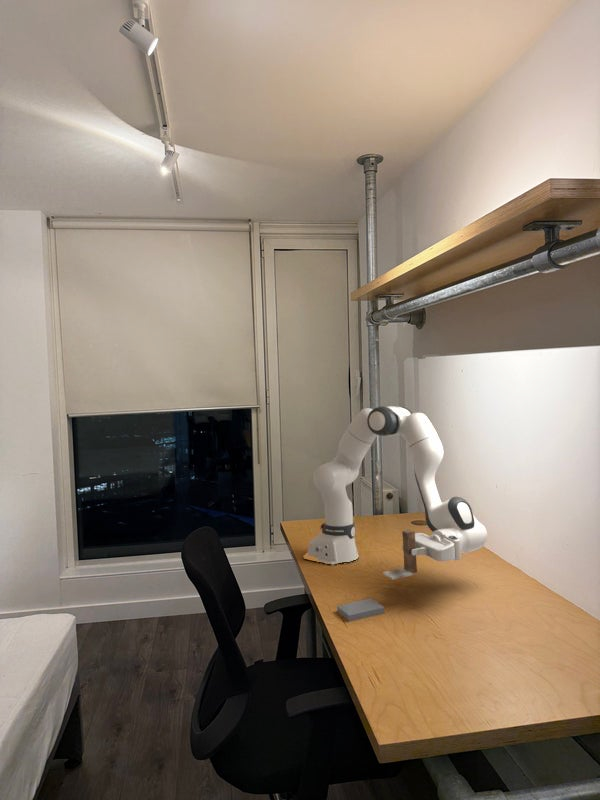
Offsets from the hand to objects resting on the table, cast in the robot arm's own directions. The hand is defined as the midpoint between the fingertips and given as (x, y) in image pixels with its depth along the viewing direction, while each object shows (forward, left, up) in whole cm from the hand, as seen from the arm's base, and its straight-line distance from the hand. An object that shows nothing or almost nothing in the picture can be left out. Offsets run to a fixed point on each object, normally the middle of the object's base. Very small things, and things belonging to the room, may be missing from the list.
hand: (407, 550), depth 178 cm
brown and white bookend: (-2, -2, -7) cm, 7 cm away
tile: (-7, -9, -15) cm, 19 cm away
